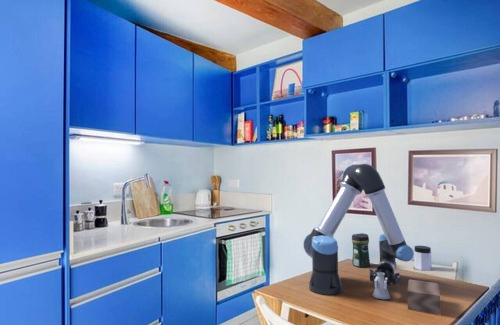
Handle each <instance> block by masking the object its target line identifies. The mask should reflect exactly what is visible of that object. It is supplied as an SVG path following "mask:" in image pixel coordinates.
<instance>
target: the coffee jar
mask: <svg viewBox="0 0 500 325" xmlns="http://www.w3.org/2000/svg"><path fill="white" fill-rule="evenodd" d="M351 242H352V266H354V267H356V268H366V267H369V266H371V260H370V252H369V251H370V250H369V242H370V238H369V235H368V234H367V233H363V232H362V233H354V234H352V235H351Z"/></svg>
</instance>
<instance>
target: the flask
mask: <svg viewBox="0 0 500 325" xmlns="http://www.w3.org/2000/svg"><path fill="white" fill-rule="evenodd" d="M377 275H378V279H377V287H375V286H374V290H373V293H372V297H373V298H375V299H380V300H390V299H391V295H390V292H389V290H388V288H386V289H384V281H385V280H384V275H385V273H381V272H377Z"/></svg>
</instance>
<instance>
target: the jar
mask: <svg viewBox="0 0 500 325" xmlns="http://www.w3.org/2000/svg"><path fill="white" fill-rule="evenodd" d="M413 252H414V256H413V258H414V269H417V270H419V271H428V272H429V271H431V270H432V250H431V247H430V246H426V245H415V246H414V250H413Z"/></svg>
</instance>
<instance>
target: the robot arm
mask: <svg viewBox="0 0 500 325" xmlns="http://www.w3.org/2000/svg"><path fill="white" fill-rule="evenodd" d="M339 185H340V188H339V190H338V192H337V193H336V195H335V196H334V199H333V200H332V202H331V204H329V207H328V209H327V211H326V213H325V214H324V216H323V218H322V219H321V221H320V223H319V224H318V226H315V227H313V229H312V230H311V232H310V233H309V234H307V235H306V236H305V237H304V239H303V243H302V244H303V246H302V247H303V249H304V251H305V253H306V254H307V256H308V257H310V258H311V259H312V261H311V262H312V264H311V266H312V271H311V275H310V279H309V282H308V289H309V291H311V292H312V293H314V294H319V295H324V296H325V295H328V296H329V295H330V296H331V295H332V296H333V295H338V294H340V293H342V292H343V284H342V280H341V278H340V277H341V276H340V274H339V245H338V241H337V240H336V239H335V237H334V235H335V233H336V231H337V229H338V228H339V227H340V224H341V223H342V221H343V219H344V217H345V216H346V214H347V213H348V211H349V209H350V208H351V206H352V203H354V202H353V201H354V200H355V199H356V197H357V196H359V195H361V194H362V193H363V192H364V195H365V196H368V198H369V200H370V203H371V206H372V208H373V211H374V212H375V215H376V217H377V220H378V222H379V225H380V227H381V229H382V232H383V234H380V235H379V238H378V239H379V240H378V244H379V246H378V247H379V248H378V249H379V264H378V266H377V268H376V270H373V269H370V268H369V281H371V282H372V283H373V284H374V288H375V287H377V279H378V275H377V272H381V273H385V275H384V280H385V281H384V289H386V288H387V287H388V286H390V285H391V284H392V285H396V284H397V282H398V281H399V280H400V279H401V277H400V276H401V274H400V273H399V272H397V273H395V271H396V269H397V262H396V259H397V260H398V261H401V262H406V263H407V262H410V261H411V260H413V258H414V250H413V248H412V247H411V246H409V245H408V244H407V243H406V240H405V237H404V235H403V233H402V229H401V228H400V225H399V223H398V221H397V218H396V216H395V213H394V211H393V209H392V207H391V204H390V202H389V199H388V196H387V194H386V192H385V190H386V185H385V183H384V181H383V179H382V177H381V175H380V173H379V172H378V171H377V169H376V168H375V167H374V166H372V165H371V164H370V163H369V164H368V163H360V164H359V163H358V164H352V165H349V166H347V167H346V168H345V169H344V171H343V172H342V179H341V181H340V183H339ZM387 289H388V288H387Z"/></svg>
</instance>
